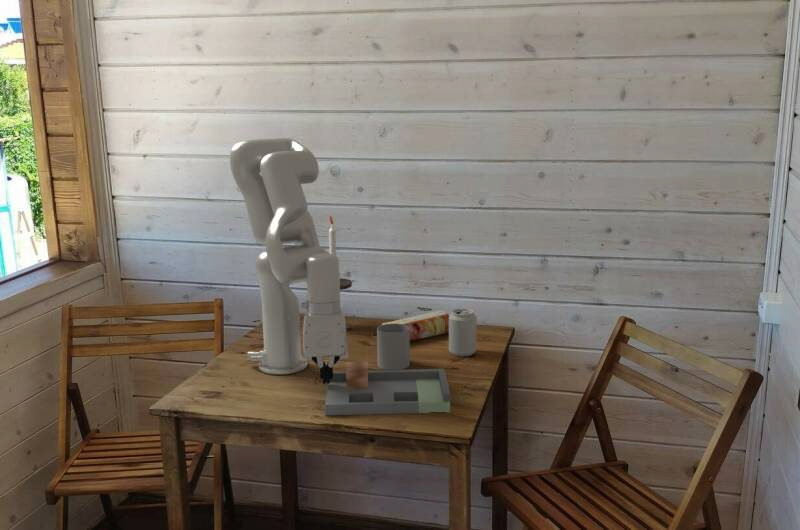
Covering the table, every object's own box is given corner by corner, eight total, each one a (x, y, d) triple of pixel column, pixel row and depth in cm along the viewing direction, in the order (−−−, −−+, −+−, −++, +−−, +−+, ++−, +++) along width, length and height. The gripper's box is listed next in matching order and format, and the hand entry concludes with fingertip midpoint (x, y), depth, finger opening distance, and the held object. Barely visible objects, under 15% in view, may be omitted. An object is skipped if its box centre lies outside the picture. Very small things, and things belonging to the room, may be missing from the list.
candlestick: (332, 336, 238) (328, 218, 230) (310, 328, 246) (305, 214, 238) (360, 328, 245) (357, 214, 237) (338, 321, 253) (334, 210, 245)
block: (346, 389, 190) (346, 369, 189) (347, 381, 195) (346, 362, 194) (367, 388, 190) (367, 368, 189) (368, 381, 195) (367, 361, 194)
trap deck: (325, 415, 182) (324, 396, 181) (329, 388, 197) (328, 371, 196) (450, 412, 182) (450, 393, 181) (444, 386, 198) (444, 368, 197)
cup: (405, 371, 209) (405, 333, 207) (374, 369, 210) (374, 332, 208) (412, 360, 217) (411, 324, 215) (382, 358, 218) (381, 322, 216)
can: (459, 347, 227) (459, 305, 224) (481, 352, 222) (482, 310, 220) (443, 353, 221) (443, 311, 219) (465, 359, 217) (466, 316, 214)
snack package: (390, 348, 228) (389, 325, 226) (378, 342, 233) (377, 319, 231) (451, 335, 238) (451, 313, 237) (439, 329, 244) (438, 308, 242)
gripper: (290, 312, 184) (293, 388, 188) (356, 310, 184) (357, 386, 188) (293, 303, 191) (296, 376, 195) (356, 302, 192) (358, 375, 196)
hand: (326, 381), depth 192 cm, fingers closed
